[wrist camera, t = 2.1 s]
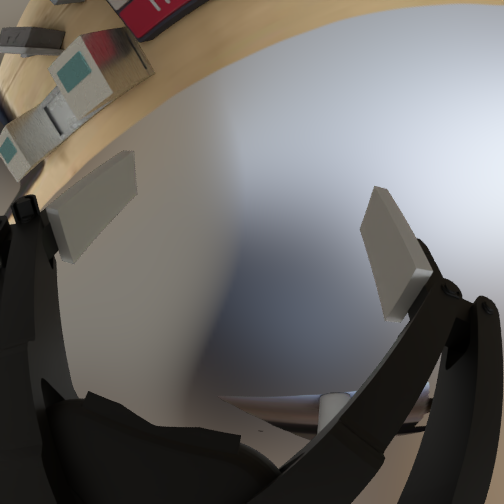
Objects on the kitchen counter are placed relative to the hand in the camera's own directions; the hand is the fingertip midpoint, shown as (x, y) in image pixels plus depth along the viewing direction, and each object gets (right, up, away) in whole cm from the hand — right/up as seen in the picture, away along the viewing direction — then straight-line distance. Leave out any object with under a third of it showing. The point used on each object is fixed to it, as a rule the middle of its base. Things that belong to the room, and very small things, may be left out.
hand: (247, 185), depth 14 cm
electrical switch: (-30, +28, +8) cm, 42 cm away
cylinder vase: (+34, -61, +86) cm, 111 cm away
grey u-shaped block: (-25, +19, +16) cm, 35 cm away
